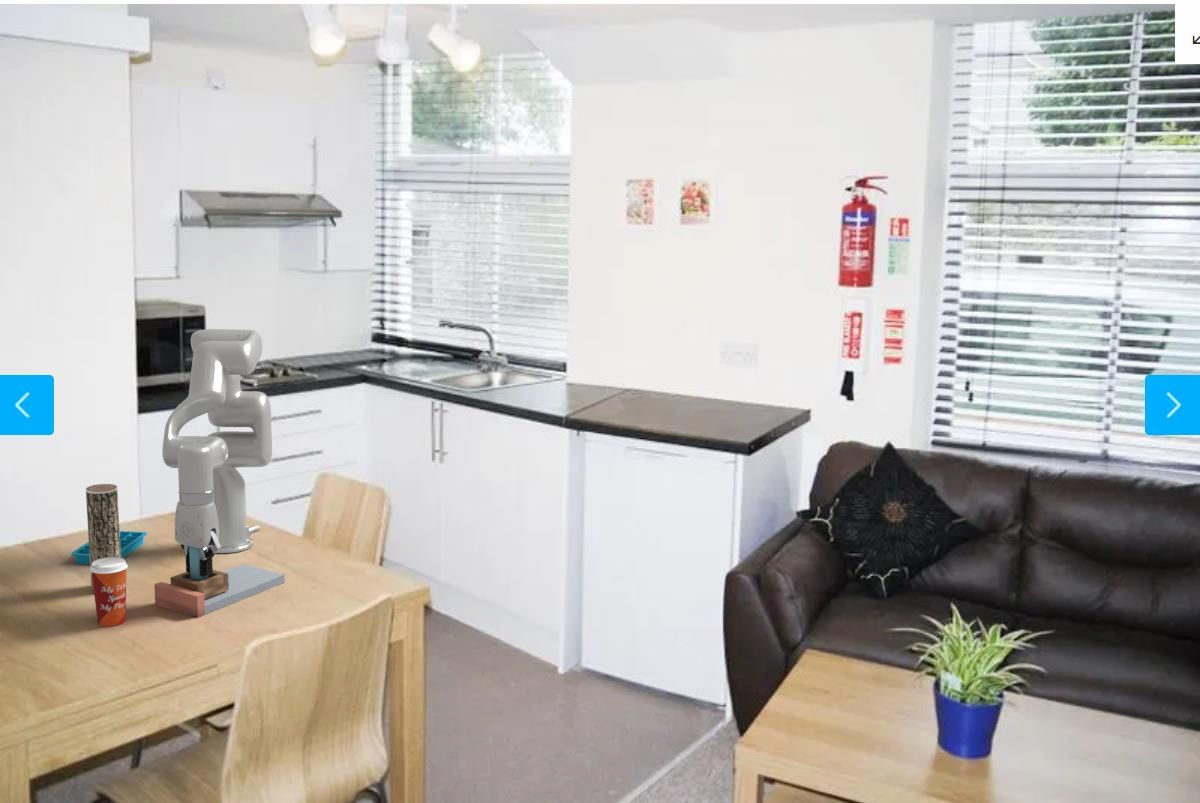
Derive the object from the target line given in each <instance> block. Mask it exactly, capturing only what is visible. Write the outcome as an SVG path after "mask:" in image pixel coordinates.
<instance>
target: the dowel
mask: <svg viewBox="0 0 1200 803" xmlns="http://www.w3.org/2000/svg"><path fill="white" fill-rule="evenodd" d="M205 550H206V552H207V551H208V549H205ZM189 557H190V580H193V581H197V582H200V581H202V580H205V579H208V578H209V576H208V575H206V576H203V577H202V576H200V560H202V558H201V552H200V549H198V548H194V547H190V546H189Z"/></svg>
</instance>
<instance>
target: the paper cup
mask: <svg viewBox="0 0 1200 803" xmlns="http://www.w3.org/2000/svg"><path fill="white" fill-rule="evenodd" d="M128 566H129V565H128V563H127V561H126V559H125V558H118V557H108V558H102V559H98V560H96V561H94V562H93V563H92V565H91V568H90V567H89V572H90V571H91V572H92V580H93V588H94V590H93V594H94V604H95V611H96V619H97V624H98V626H99V627H104V628H107V627H109V628H111V627H116V626H120V625H122V624H124V623H126V610H127V607H126V606H127V569H128Z"/></svg>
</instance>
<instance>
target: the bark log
mask: <svg viewBox="0 0 1200 803" xmlns="http://www.w3.org/2000/svg"><path fill="white" fill-rule="evenodd" d="M85 500H86V502H85V503H86V517H87V535H88V536H87V537H88V542H89V555H90V564H89V569H90V568H91V565H92V563H93V562H94V561H96V560H98V559H102V558H108V557H118V558H121V550H120V531H121V530H120V516H119V514H120V512H119V495H118V486H117V485H116V484H113V483H112V484H111V483H99V484H92V485H90V486H87V487H85ZM89 572H90V584H91V586H90V587H91V589H92V590H93V591H94V588H93V580H92V572H91V571H90V570H89Z"/></svg>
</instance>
